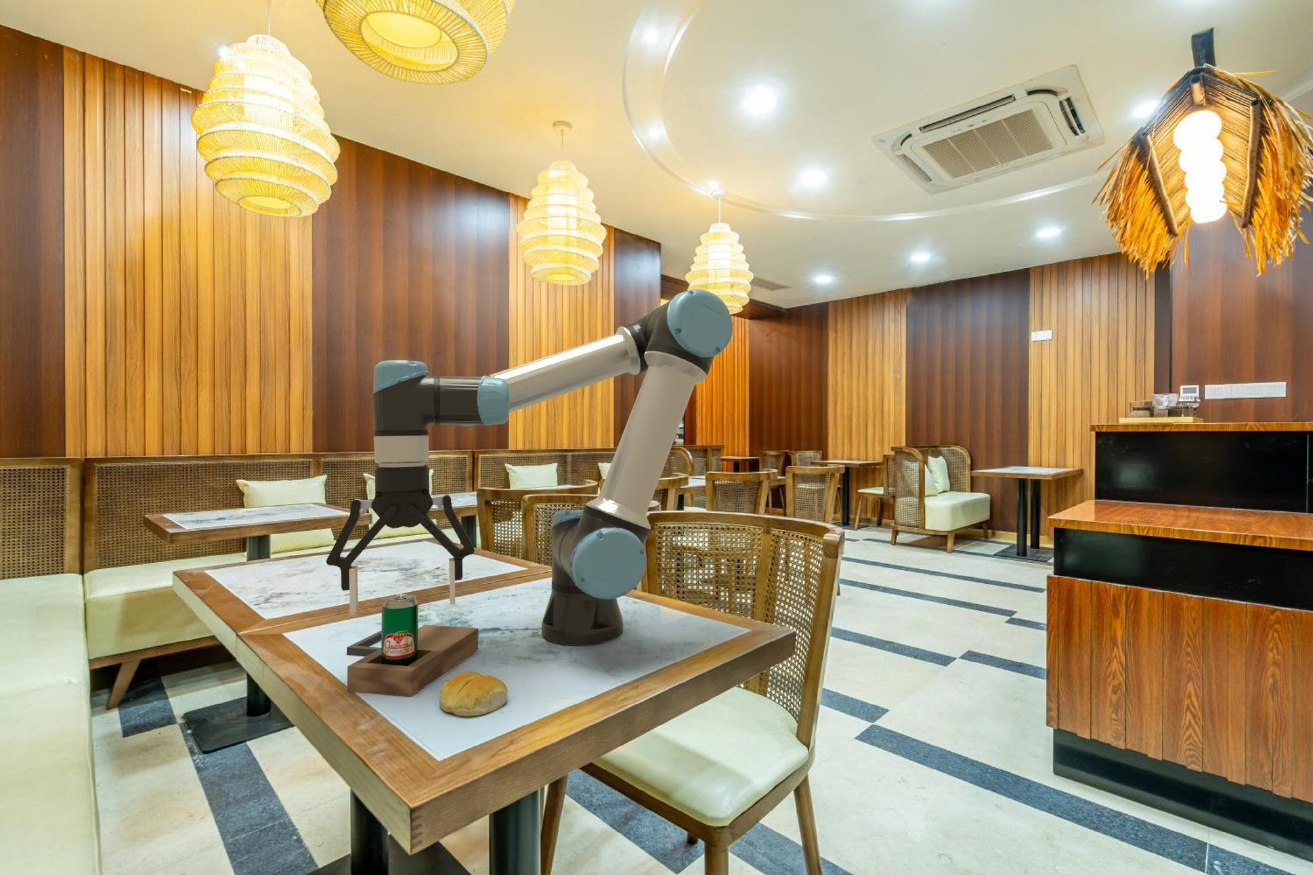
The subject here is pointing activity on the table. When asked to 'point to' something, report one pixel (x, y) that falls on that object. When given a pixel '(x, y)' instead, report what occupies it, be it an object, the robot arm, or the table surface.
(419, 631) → the caddy
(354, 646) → the dark square frame
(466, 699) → the bread roll
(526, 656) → the table surface
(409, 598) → the soda can
